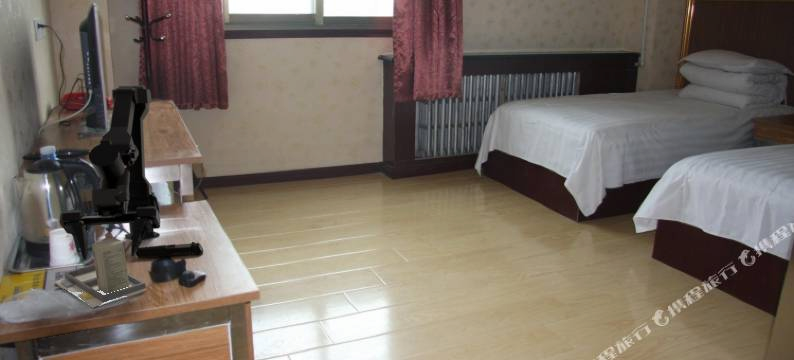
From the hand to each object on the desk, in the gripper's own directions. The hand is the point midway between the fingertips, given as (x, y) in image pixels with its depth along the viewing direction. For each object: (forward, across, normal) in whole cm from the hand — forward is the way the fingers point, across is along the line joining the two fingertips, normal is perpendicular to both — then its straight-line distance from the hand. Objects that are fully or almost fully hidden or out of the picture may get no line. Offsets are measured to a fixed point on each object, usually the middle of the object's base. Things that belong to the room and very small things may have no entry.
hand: (108, 257), depth 128 cm
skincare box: (+5, 0, +6) cm, 7 cm away
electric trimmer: (-8, +9, +20) cm, 23 cm away
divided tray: (+3, -3, +8) cm, 9 cm away
